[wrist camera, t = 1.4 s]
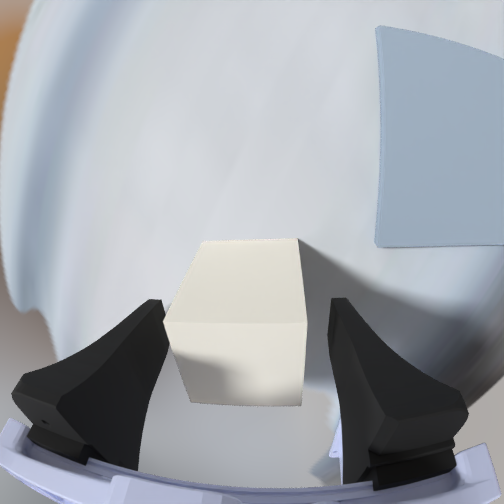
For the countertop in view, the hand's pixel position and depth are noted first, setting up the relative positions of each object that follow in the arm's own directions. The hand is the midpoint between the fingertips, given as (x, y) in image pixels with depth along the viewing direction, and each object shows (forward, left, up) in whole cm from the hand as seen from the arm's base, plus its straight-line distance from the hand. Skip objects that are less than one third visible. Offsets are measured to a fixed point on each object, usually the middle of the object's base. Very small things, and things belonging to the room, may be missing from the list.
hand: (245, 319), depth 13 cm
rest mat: (+7, -11, -3) cm, 13 cm away
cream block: (0, 0, -3) cm, 3 cm away
